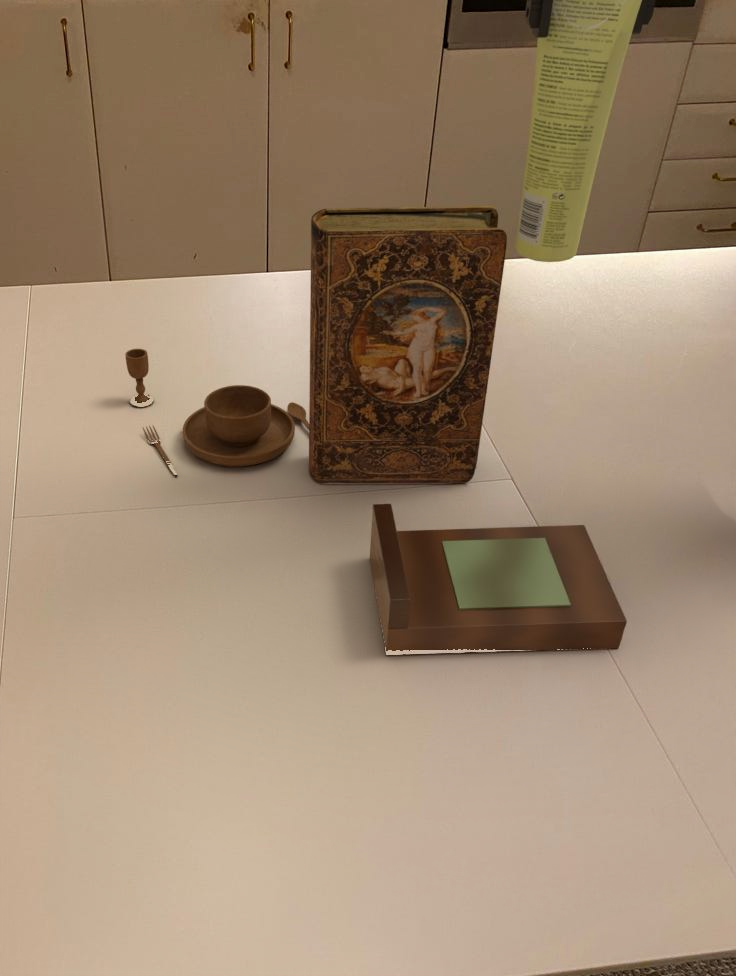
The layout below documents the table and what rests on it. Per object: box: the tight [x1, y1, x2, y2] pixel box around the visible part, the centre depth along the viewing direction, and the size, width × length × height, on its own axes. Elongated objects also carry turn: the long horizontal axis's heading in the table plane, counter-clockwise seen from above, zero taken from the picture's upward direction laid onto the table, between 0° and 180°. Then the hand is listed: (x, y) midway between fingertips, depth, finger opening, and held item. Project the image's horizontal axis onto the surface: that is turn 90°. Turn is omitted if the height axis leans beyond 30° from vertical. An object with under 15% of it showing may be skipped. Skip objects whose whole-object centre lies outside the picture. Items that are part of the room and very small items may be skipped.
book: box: [308, 205, 508, 485], centre depth 92 cm, size 16×6×25 cm, turn 88°
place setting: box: [124, 348, 309, 467], centre depth 106 cm, size 18×20×6 cm
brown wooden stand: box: [369, 503, 628, 651], centre depth 83 cm, size 19×13×6 cm
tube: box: [514, 0, 642, 263], centre depth 74 cm, size 6×5×20 cm
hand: (585, 32), depth 70 cm, fingers closed on tube, 6 cm apart
